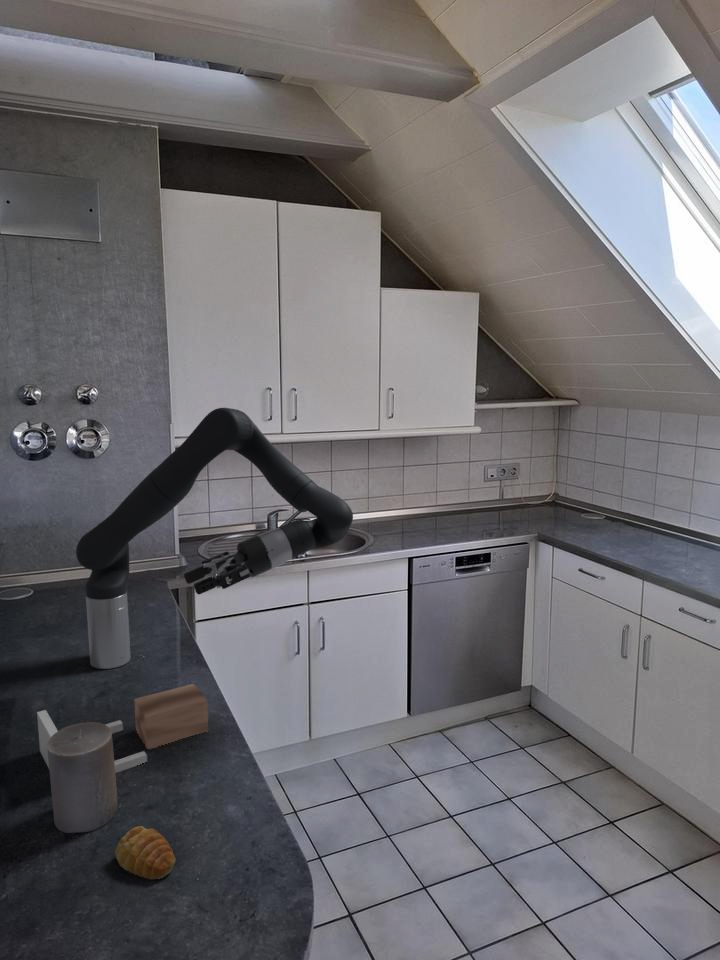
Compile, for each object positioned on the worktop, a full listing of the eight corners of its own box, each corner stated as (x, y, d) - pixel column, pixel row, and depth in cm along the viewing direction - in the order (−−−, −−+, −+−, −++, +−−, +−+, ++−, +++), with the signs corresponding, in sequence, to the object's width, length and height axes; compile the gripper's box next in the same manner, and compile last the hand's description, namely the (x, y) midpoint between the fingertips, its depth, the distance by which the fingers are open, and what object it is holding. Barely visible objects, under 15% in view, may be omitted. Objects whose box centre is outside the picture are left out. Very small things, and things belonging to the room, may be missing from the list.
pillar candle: (97, 788, 120) (91, 708, 117) (129, 811, 114) (123, 727, 111) (42, 817, 113) (33, 732, 110) (73, 844, 106) (65, 755, 104)
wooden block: (136, 731, 138) (134, 698, 137) (194, 715, 145) (193, 683, 143) (147, 750, 132) (145, 716, 130) (208, 732, 138) (207, 700, 137)
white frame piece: (40, 751, 131) (36, 712, 129) (120, 726, 139) (118, 689, 138) (60, 792, 119) (57, 749, 117) (147, 762, 128) (145, 721, 126)
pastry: (187, 864, 103) (186, 841, 102) (149, 892, 97) (148, 868, 97) (147, 838, 108) (146, 816, 107) (109, 863, 103) (107, 840, 102)
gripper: (248, 529, 148) (175, 559, 142) (271, 541, 136) (192, 575, 129) (259, 561, 150) (188, 592, 144) (282, 576, 137) (205, 611, 131)
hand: (190, 584), depth 137 cm, fingers open, 8 cm apart
